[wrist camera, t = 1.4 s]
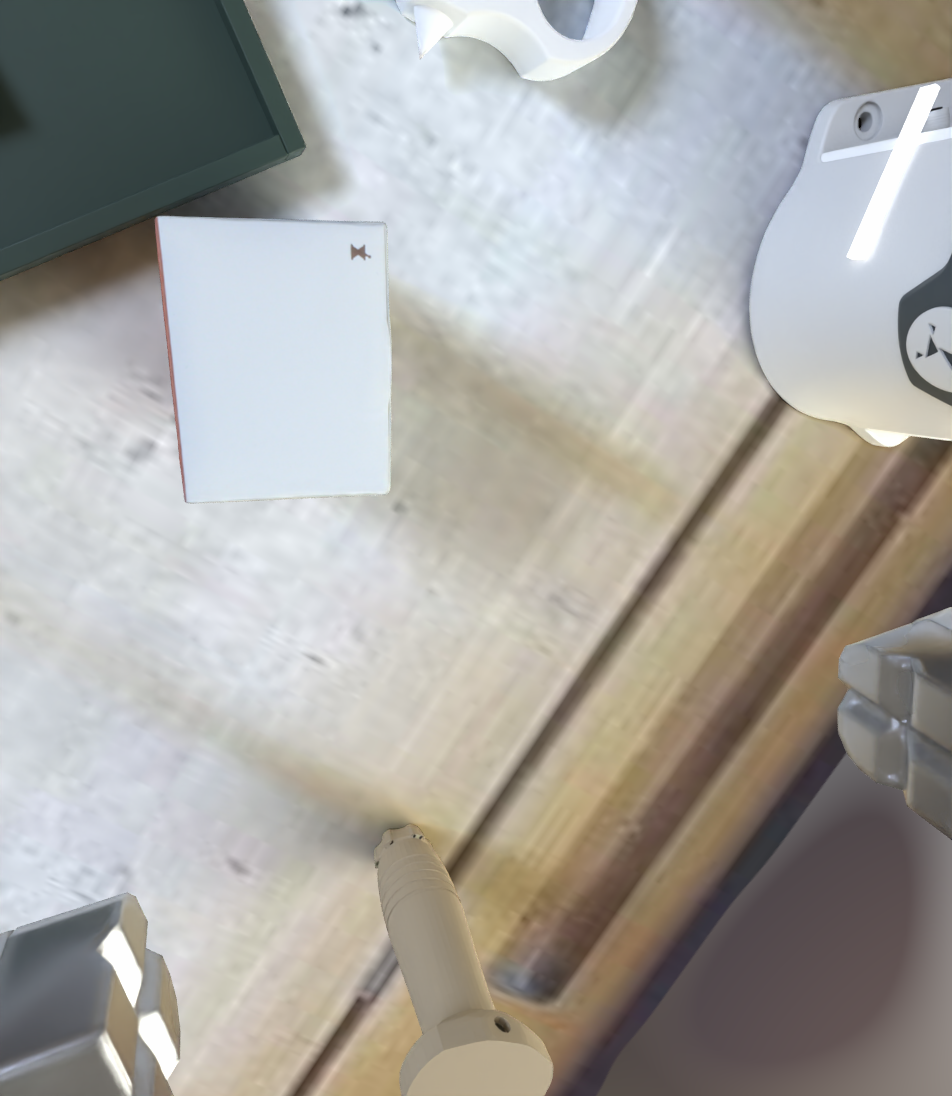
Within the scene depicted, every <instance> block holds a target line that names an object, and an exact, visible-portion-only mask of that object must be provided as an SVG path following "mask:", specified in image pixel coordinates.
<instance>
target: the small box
mask: <svg viewBox="0 0 952 1096" xmlns="http://www.w3.org/2000/svg"><path fill="white" fill-rule="evenodd" d="M155 232H156V243H157V253H158V263H159V272H160V281H161V291H162V302H163V312H164V321H165V330H166V339H167V348H168V357H169V367H170V377H171V386H172V395H173V404H174V412H175V421H176V429H177V438H178V449H179V460H180V468H181V475H182V483H183V491H184V499H185V502H186V503H190V504H194V503H216V502H237V501H260V500H282V499H303V498H325V497H348V496H371V495H386V494H388V492H389V491H390V487H391V381H392V350H391V341H392V338H391V327H390V315H389V278H388V243H387V226H386V223H384V222H353V221H320V220H287V219H252V218H216V217H182V216H158V217H156V218H155Z"/></svg>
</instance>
